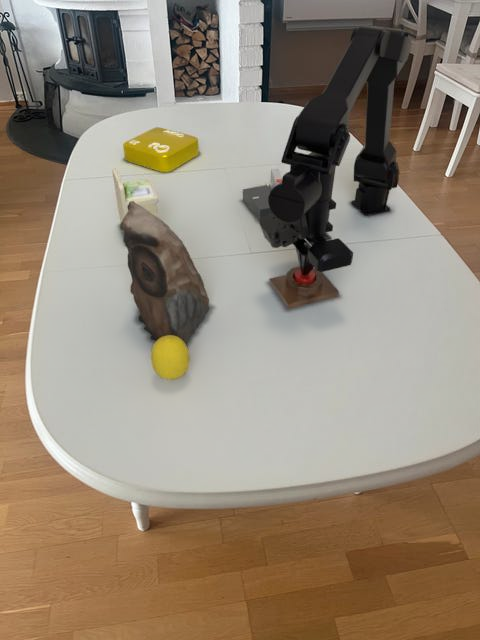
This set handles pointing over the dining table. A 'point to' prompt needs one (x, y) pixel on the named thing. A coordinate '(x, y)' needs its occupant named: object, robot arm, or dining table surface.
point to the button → (304, 277)
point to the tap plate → (258, 200)
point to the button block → (302, 289)
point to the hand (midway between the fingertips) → (305, 273)
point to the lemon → (170, 357)
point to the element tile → (161, 149)
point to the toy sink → (134, 195)
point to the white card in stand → (275, 178)
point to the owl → (162, 276)
